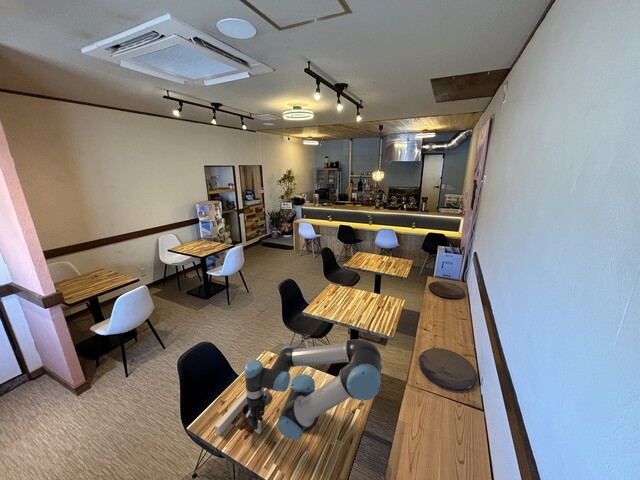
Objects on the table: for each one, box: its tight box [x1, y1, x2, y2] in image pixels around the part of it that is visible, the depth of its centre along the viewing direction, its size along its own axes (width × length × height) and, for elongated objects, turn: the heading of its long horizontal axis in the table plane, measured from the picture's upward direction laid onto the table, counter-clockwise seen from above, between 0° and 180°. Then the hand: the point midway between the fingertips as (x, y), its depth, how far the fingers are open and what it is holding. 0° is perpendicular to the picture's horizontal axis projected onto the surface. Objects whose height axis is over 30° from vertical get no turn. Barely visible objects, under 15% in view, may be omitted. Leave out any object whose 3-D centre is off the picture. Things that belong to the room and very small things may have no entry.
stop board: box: [214, 391, 248, 436], centre depth 130 cm, size 2×22×5 cm, turn 153°
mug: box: [238, 403, 255, 431], centre depth 123 cm, size 12×8×9 cm, turn 160°
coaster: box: [264, 390, 272, 406], centre depth 140 cm, size 9×9×1 cm
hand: (258, 431), depth 122 cm, fingers closed
